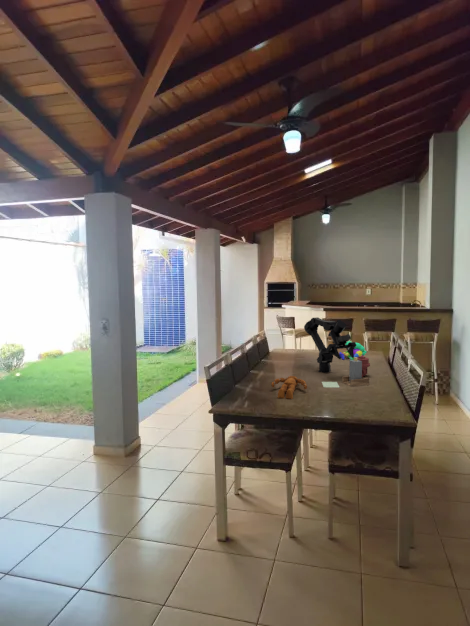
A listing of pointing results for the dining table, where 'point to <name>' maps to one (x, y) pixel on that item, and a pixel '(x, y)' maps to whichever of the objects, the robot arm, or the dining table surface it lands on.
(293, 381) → the toy
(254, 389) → the dining table surface
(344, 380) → the walnut rack
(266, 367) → the dining table surface
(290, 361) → the dining table surface
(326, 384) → the sage mat
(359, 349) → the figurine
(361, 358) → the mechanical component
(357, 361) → the slate block
